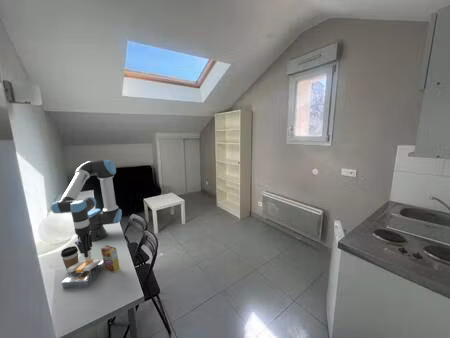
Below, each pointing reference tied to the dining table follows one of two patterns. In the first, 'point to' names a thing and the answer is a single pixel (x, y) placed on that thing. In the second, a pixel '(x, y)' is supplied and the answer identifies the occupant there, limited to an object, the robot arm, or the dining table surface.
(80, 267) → the long orange bar
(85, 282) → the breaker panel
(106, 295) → the dining table surface
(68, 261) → the coffee cup
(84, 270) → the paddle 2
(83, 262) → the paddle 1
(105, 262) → the candy box
